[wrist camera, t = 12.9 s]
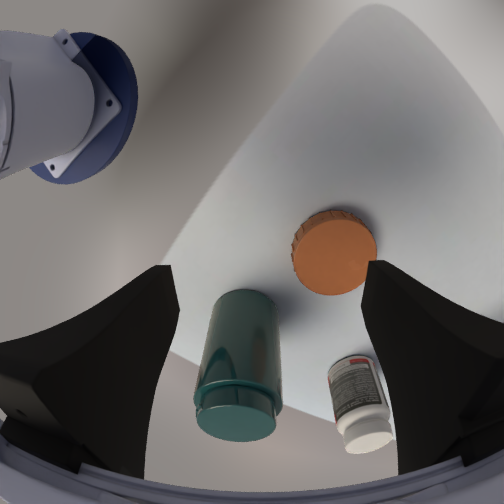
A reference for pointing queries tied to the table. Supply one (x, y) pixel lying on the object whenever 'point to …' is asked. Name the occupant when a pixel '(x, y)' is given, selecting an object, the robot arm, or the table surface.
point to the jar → (240, 369)
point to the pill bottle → (359, 405)
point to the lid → (333, 252)
